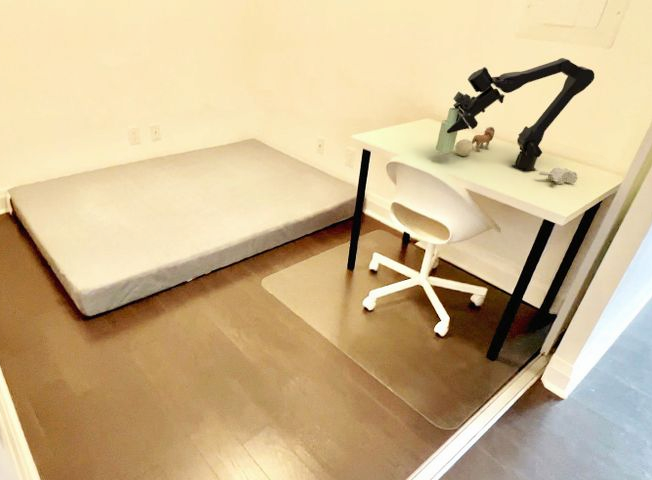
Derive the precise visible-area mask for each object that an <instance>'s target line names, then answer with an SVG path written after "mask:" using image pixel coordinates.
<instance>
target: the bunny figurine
mask: <svg viewBox="0 0 652 480" xmlns="http://www.w3.org/2000/svg"><path fill="white" fill-rule="evenodd" d="M538 175H539V176H547V179H548V180H549V181H550V182H554V183H555V184H556V185H563V184H565V183H570V184H571V183H573V184H575V183H576V182H577V180H578V178H579V177H578V174H577V172H576V171H573V170H570V169H568V168H561V167H557V166H556V167H553V168H552V170H550V171H549V172H548V171H543V170H541V171H540V172H539V173H538Z"/></svg>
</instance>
